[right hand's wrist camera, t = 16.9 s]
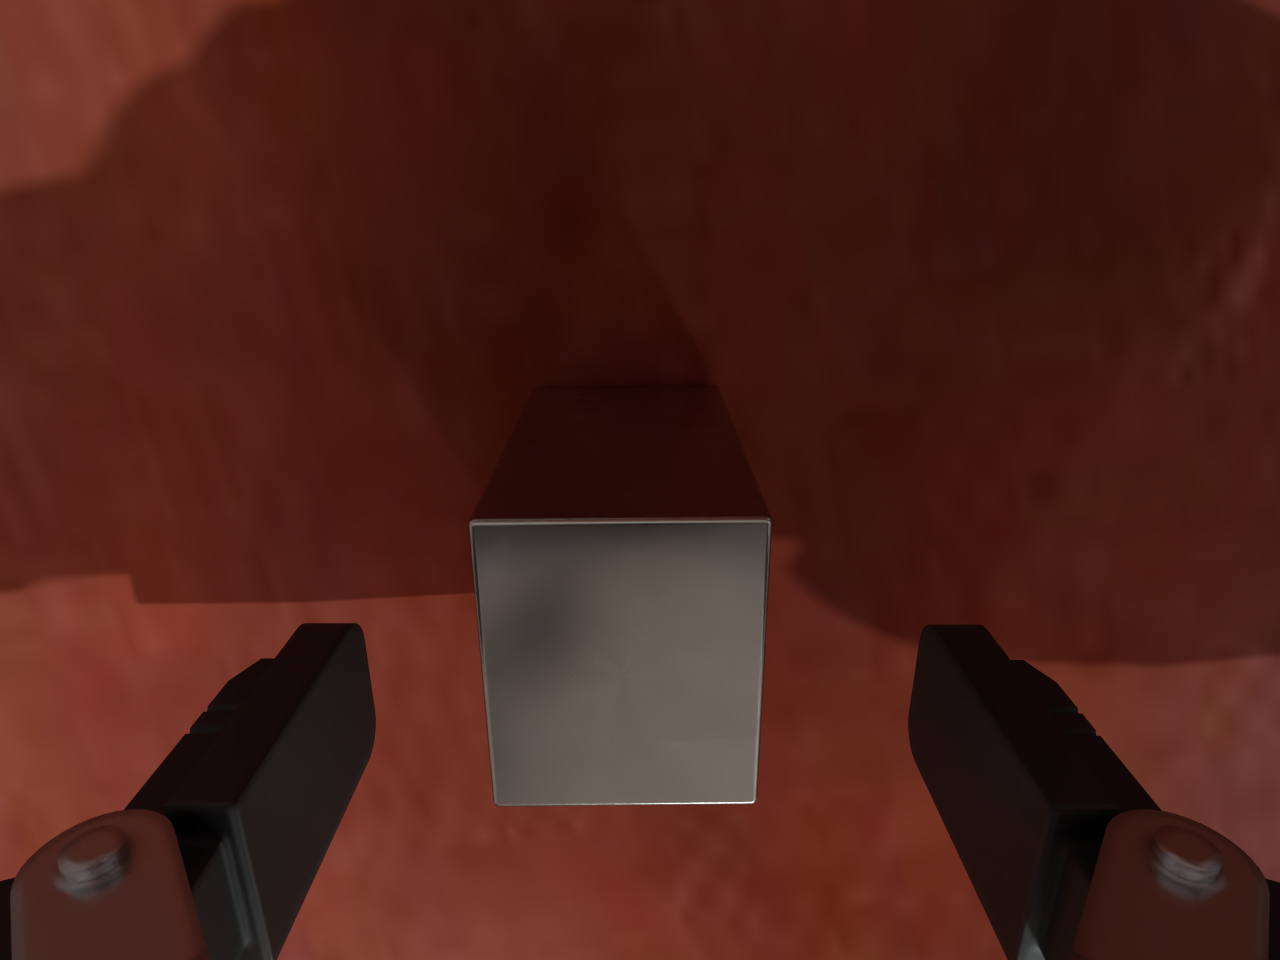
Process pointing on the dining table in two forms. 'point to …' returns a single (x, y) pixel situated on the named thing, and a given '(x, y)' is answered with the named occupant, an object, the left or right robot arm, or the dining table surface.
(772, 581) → the dining table surface
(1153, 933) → the right robot arm
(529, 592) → the block
